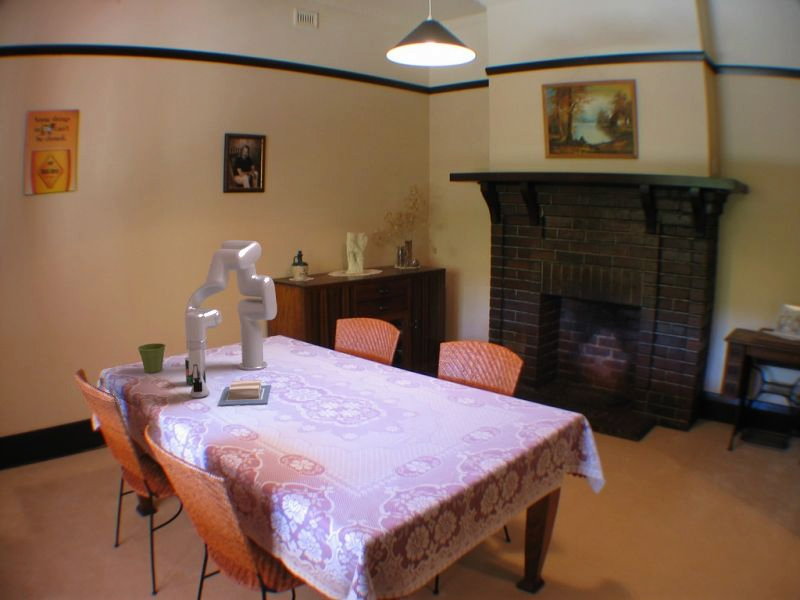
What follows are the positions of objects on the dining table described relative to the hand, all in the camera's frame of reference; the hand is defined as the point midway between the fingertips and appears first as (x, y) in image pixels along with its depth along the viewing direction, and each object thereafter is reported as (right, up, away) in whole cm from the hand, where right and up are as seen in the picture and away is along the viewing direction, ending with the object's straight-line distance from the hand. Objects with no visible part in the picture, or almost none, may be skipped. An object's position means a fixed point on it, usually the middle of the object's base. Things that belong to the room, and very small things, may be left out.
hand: (199, 388), depth 252 cm
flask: (0, -3, +1) cm, 3 cm away
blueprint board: (+18, -3, 0) cm, 18 cm away
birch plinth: (+18, -3, 0) cm, 18 cm away
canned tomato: (-6, 0, +16) cm, 17 cm away
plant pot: (-31, +3, +34) cm, 46 cm away
